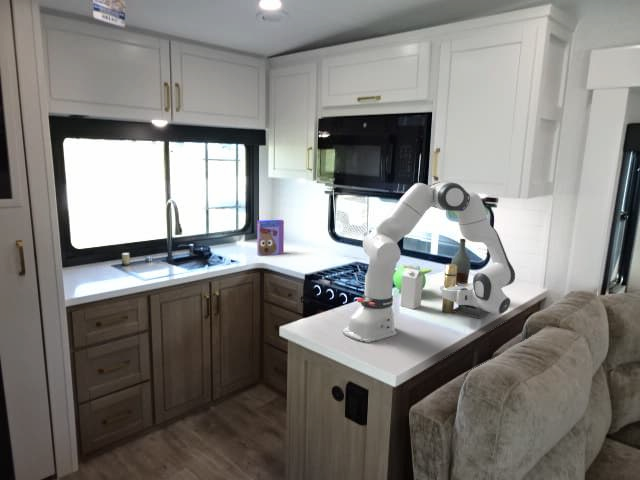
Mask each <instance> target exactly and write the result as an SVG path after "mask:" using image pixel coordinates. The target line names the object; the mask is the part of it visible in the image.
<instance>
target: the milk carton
mask: <svg viewBox="0 0 640 480" xmlns="http://www.w3.org/2000/svg"><path fill="white" fill-rule="evenodd" d="M411 266H412V265H408V266H406V269H405V271H404V273H403V275H402V286H401V291H400V303H399V306H400V307H405V308H409V309H412V310H415V309H416V308H418V307H420V306H421V305H422V292H423V289H422V280H423V275H422V273H421V271H420V269H421V268H416V266H413V267H411Z"/></svg>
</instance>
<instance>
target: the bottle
mask: <svg viewBox="0 0 640 480" xmlns="http://www.w3.org/2000/svg"><path fill="white" fill-rule="evenodd" d="M466 241H467V239H466V238H459V246H458V247H459V248H458V251H457V252H456V253H455V254H454V255H453V256H452V259H451V263H450V264H455V265H457V276H456V283H459V284H469V276H470V271H471V259H470V258H469V255H468V254H467V251H466Z"/></svg>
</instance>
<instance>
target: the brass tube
mask: <svg viewBox="0 0 640 480" xmlns="http://www.w3.org/2000/svg"><path fill="white" fill-rule="evenodd" d="M456 276H457V265H455V264H451V263H445V269H444V280H443V281H444V283H443V286H445V288H448V287H453V286H456ZM441 305H442V306H441V312H442V313H443V314H447V315H451V314H453V313H454V311H453V309H455V308H454V307H455V302H453V301H450V300H448V299H445V298H443V297H442V304H441Z"/></svg>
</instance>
